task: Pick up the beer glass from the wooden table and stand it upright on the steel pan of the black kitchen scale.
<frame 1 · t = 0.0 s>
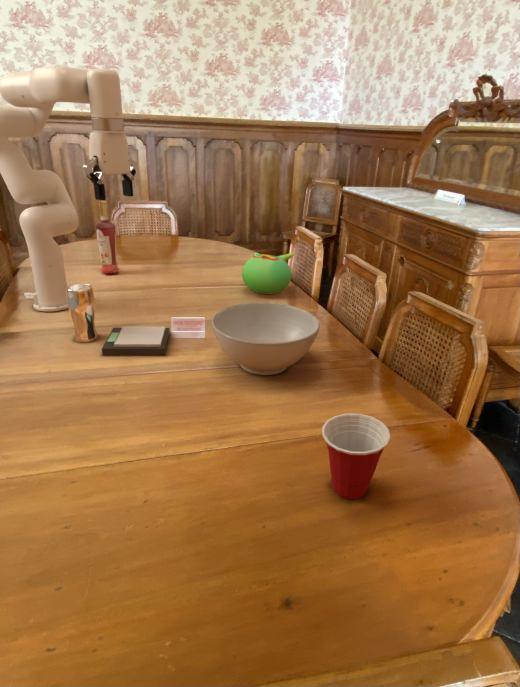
hand: (114, 197, 124), 37 cm above the table, tool pointing down, fingers open, 9 cm apart
beer glass: (86, 338, 132), on the table
green round pot: (266, 292, 173), on the table
scale: (138, 344, 130), on the table
decorative bowl: (263, 364, 121), on the table
liquor: (110, 273, 189), on the table
plastic cup: (347, 488, 81), on the table
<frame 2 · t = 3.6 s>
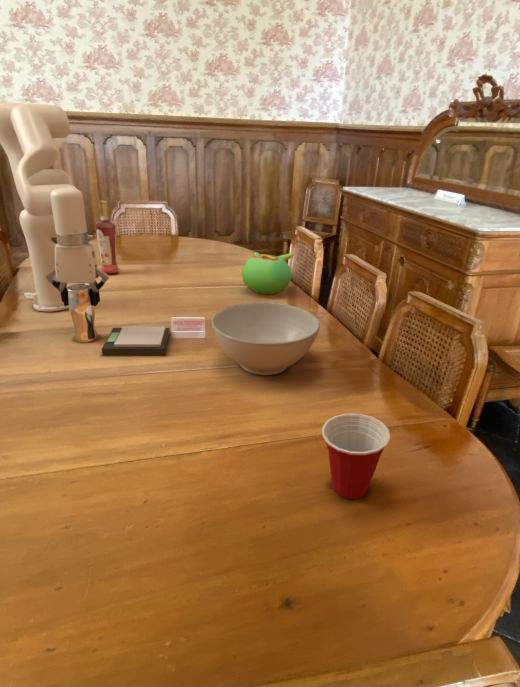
hand: (81, 304, 128), 10 cm above the table, tool pointing down, fingers closed on beer glass, 7 cm apart
beer glass: (86, 338, 132), on the table, touching gripper
everything else where it was.
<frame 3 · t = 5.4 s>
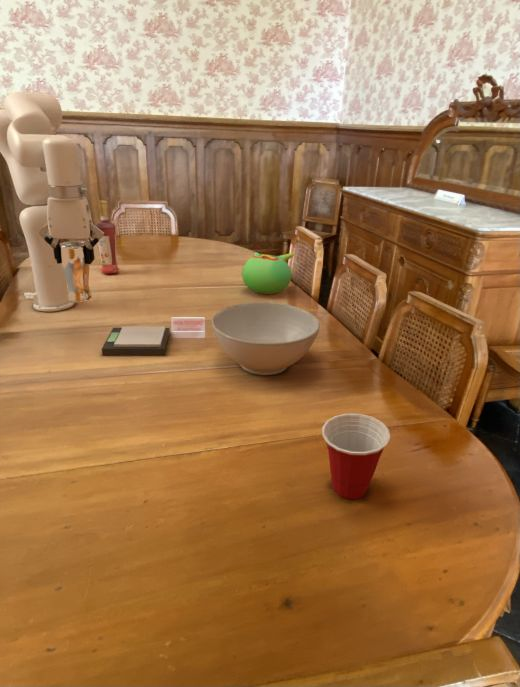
hand: (75, 262, 123), 22 cm above the table, tool pointing down, fingers closed on beer glass, 7 cm apart
beer glass: (80, 299, 128), point 11 cm above the table, touching gripper
everything else where it was.
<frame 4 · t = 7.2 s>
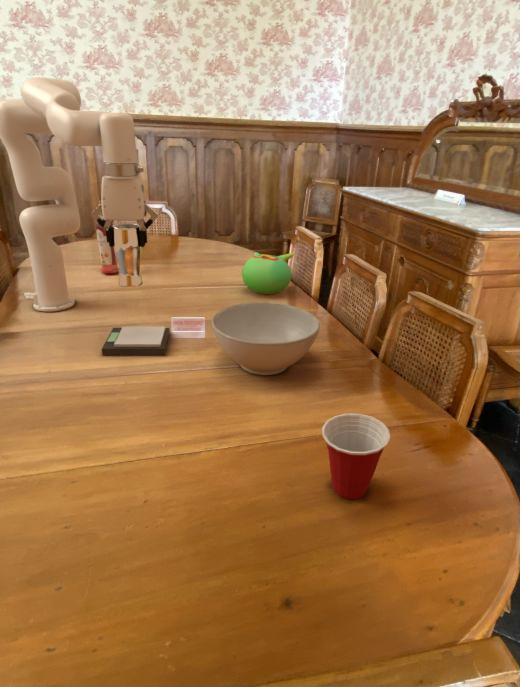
hand: (127, 245, 118), 27 cm above the table, tool pointing down, fingers closed on beer glass, 7 cm apart
beer glass: (131, 284, 123), point 17 cm above the table, touching gripper
everything else where it was.
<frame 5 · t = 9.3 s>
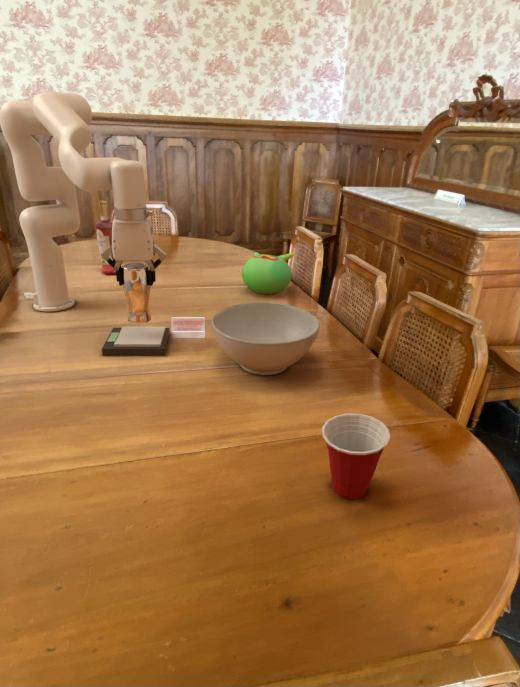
hand: (136, 283, 122), 17 cm above the table, tool pointing down, fingers closed on beer glass, 7 cm apart
beer glass: (139, 320, 127), point 7 cm above the table, touching gripper
everything else where it was.
when the fingers open (13 cm above the table, at t = 11.0 s): beer glass stays where it is, resting on scale.
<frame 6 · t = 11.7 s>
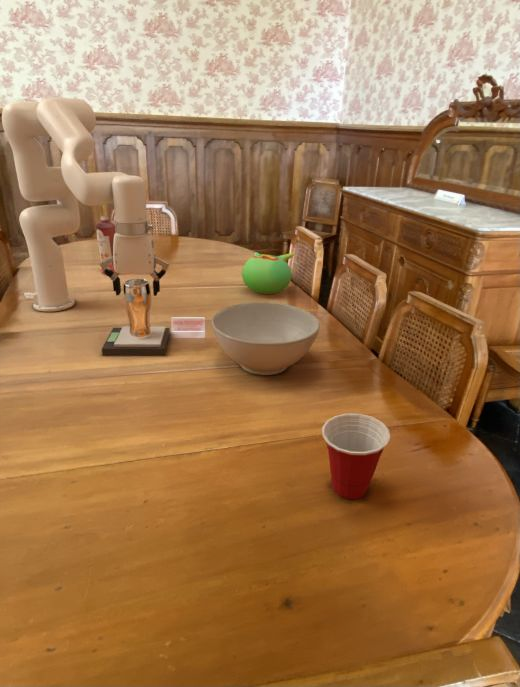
hand: (137, 294, 124), 15 cm above the table, tool pointing down, fingers open, 9 cm apart
beer glass: (140, 335, 129), point 3 cm above the table, touching scale
everything else where it was.
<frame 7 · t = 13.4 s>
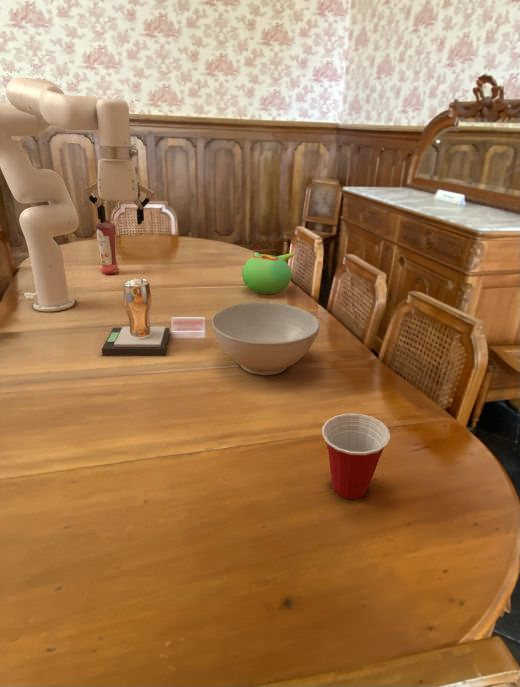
hand: (121, 222, 125), 31 cm above the table, tool pointing down, fingers open, 9 cm apart
nothing on the table moved.
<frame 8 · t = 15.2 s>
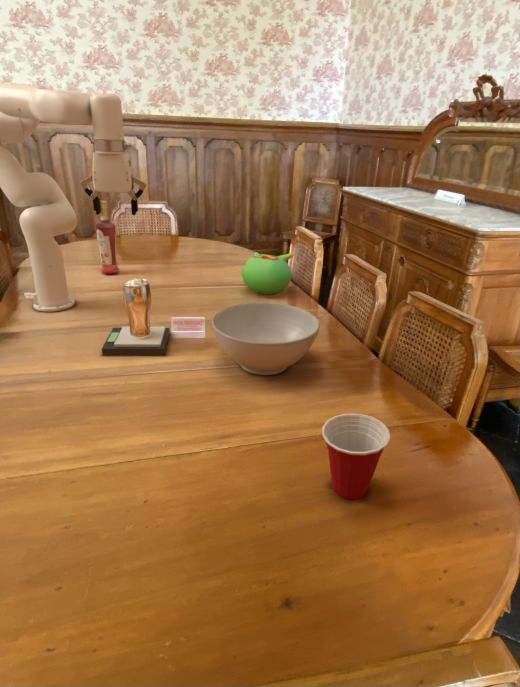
hand: (116, 214, 130), 32 cm above the table, tool pointing down, fingers open, 9 cm apart
nothing on the table moved.
at the end: beer glass inside the target area on the scale (0.1 cm from its centre), point 2.6 cm above the scale's base; beer glass tilted 0°; the gripper is holding nothing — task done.
